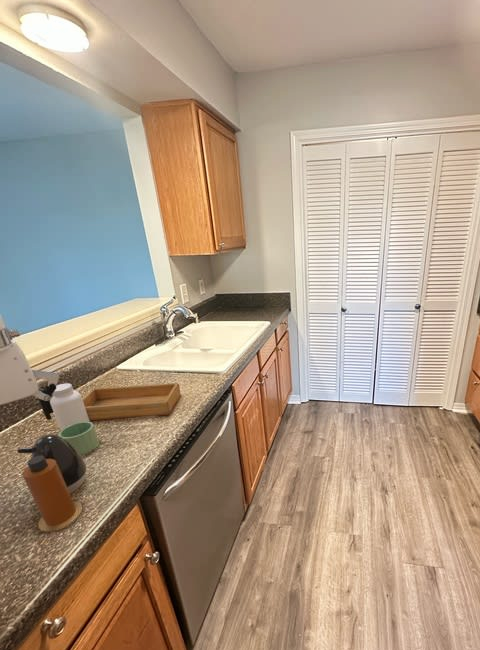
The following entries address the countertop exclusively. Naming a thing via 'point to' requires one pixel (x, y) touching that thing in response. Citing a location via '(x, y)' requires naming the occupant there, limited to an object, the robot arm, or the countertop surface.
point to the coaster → (47, 528)
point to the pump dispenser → (60, 458)
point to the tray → (131, 401)
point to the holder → (81, 436)
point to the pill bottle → (68, 406)
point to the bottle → (49, 490)
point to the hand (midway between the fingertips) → (18, 427)
